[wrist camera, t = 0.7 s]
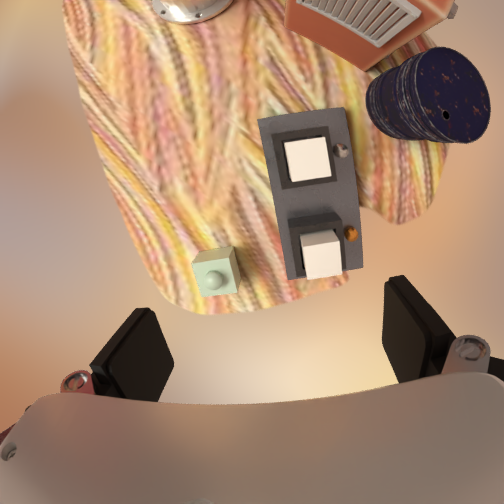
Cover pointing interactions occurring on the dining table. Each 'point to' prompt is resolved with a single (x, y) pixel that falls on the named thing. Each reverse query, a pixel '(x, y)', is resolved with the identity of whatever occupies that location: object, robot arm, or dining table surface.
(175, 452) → the robot arm
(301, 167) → the breaker button
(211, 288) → the cap
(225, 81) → the dining table surface
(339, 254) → the tagged breaker button
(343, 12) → the orange fan heater
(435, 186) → the dining table surface
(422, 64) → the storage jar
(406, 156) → the dining table surface
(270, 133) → the breaker board
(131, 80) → the dining table surface
